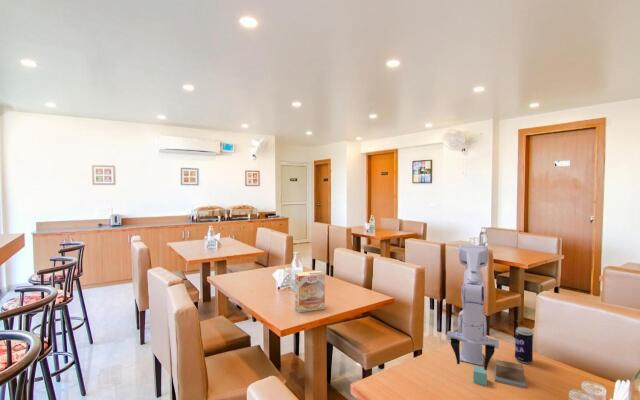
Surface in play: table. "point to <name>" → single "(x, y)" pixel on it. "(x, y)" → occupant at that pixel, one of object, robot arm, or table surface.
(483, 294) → the robot arm
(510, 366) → the walnut brick
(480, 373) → the cube
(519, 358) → the beverage can
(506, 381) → the plate
